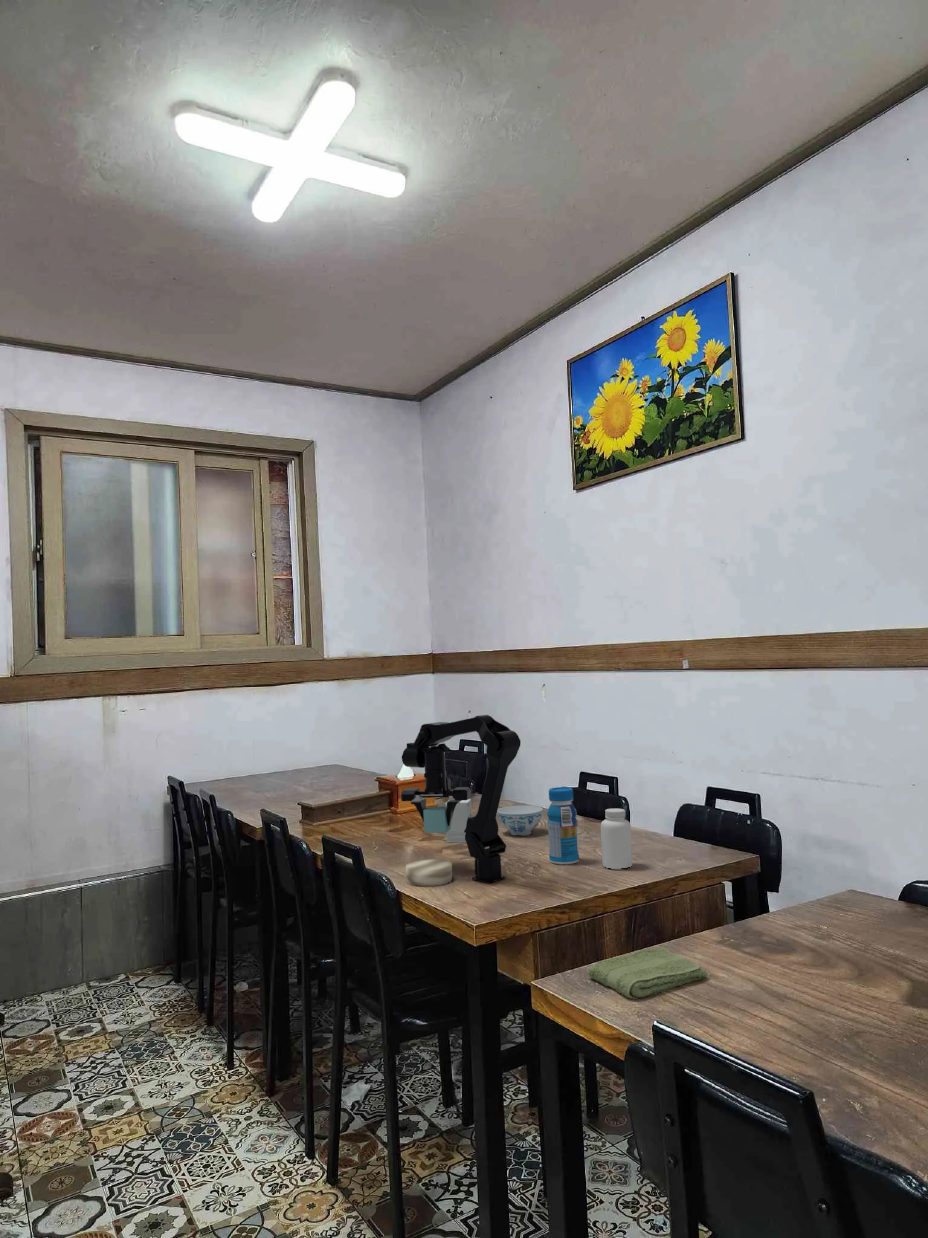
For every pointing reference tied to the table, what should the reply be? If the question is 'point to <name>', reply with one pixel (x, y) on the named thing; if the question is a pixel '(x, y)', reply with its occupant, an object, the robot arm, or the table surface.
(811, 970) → the table surface
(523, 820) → the chinaware
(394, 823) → the table surface
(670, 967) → the washcloth
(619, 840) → the pill bottle
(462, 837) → the supplement box
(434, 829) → the teal block
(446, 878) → the birch riser
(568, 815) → the beverage bottle
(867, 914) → the table surface
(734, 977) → the table surface
